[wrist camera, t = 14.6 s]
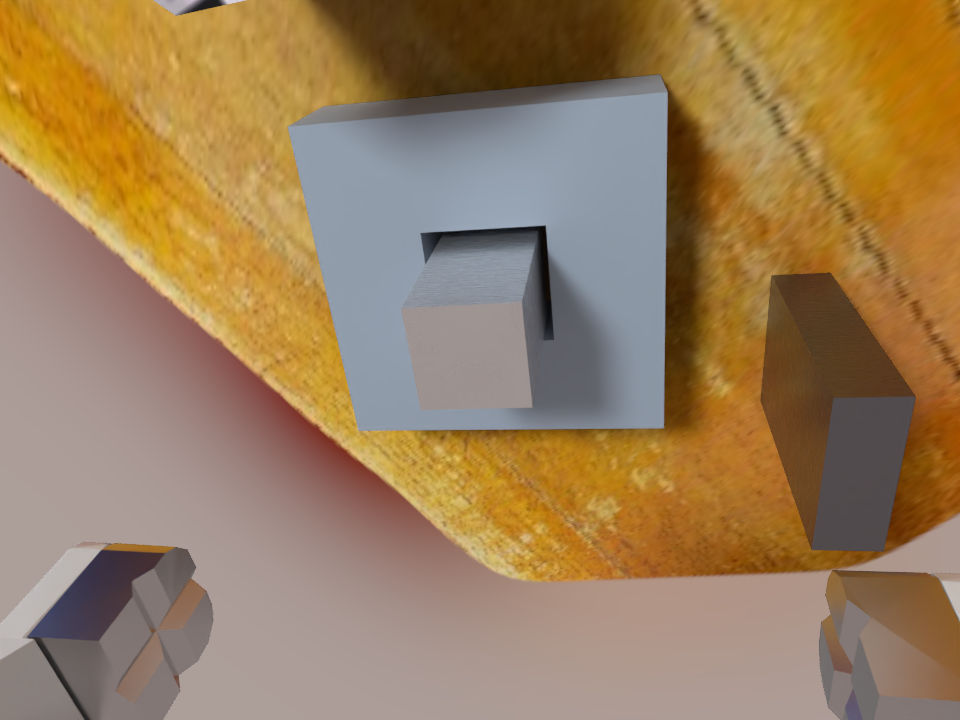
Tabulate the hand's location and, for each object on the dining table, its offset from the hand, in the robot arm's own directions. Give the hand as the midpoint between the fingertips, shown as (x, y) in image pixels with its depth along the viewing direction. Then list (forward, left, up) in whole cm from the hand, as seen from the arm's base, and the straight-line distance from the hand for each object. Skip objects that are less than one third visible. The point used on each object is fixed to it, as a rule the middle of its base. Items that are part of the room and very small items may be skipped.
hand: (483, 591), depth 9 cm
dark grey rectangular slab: (-10, +10, -24) cm, 28 cm away
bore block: (+3, +5, -24) cm, 25 cm away
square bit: (+3, +5, -24) cm, 25 cm away
